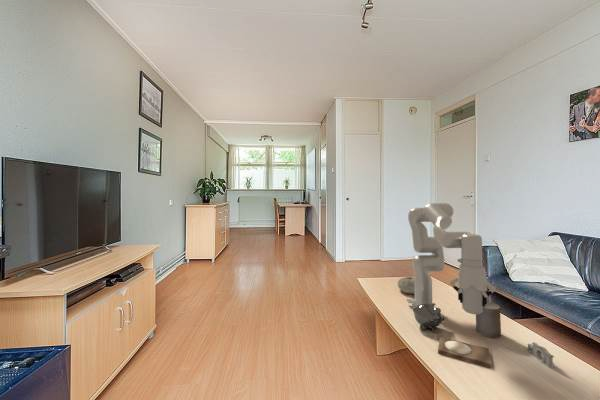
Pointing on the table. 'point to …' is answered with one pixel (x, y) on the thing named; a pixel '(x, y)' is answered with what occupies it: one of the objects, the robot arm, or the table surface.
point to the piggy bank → (428, 315)
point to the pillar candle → (489, 321)
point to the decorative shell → (407, 285)
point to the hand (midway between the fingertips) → (472, 303)
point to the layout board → (464, 351)
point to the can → (472, 300)
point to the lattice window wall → (538, 352)
